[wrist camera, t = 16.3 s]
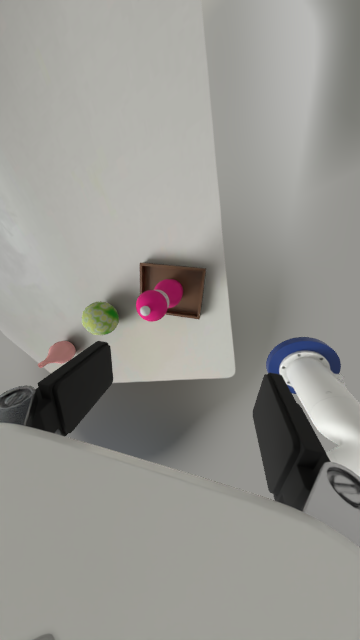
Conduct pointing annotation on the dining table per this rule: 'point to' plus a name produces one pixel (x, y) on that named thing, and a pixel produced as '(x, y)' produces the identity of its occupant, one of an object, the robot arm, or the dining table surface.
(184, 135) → the dining table surface
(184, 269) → the tray
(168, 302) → the pepper mill
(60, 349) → the pink bulb vase
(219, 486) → the robot arm
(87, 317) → the decorative ball
